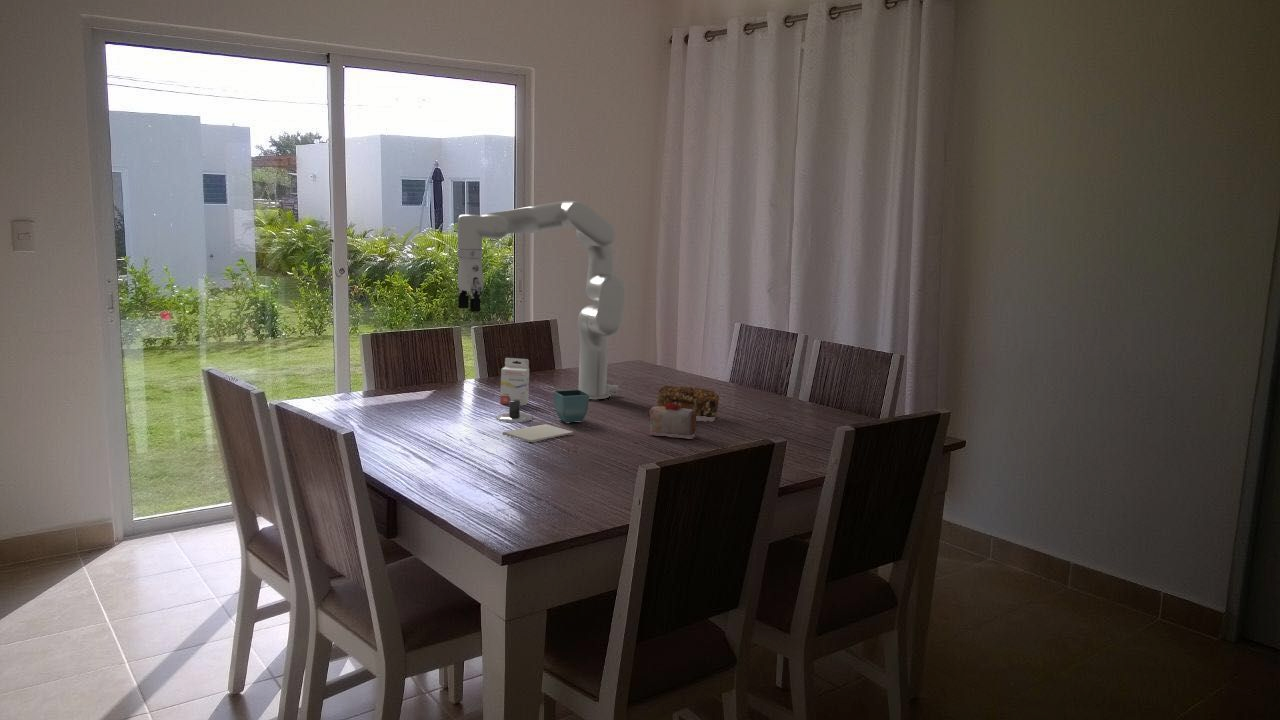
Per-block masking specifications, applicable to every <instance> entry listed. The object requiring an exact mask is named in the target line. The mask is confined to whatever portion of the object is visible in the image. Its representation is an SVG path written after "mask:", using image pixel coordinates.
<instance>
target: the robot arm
mask: <svg viewBox="0 0 1280 720" xmlns="http://www.w3.org/2000/svg"><path fill="white" fill-rule="evenodd" d="M564 228H565V229H566V228H575V229H576V231H575V233H576V238H577V239H578V241H579V242H580V243H581V244H582V245H583V246H584V247H585V249H586V251H587V254H588V268H587V274H586V275H587V277H586V283H585V284H586V285H585V294H586V296H587V297H588V298H589V299H590V300H592V301H594V302H597V304H590V305H589V304H588V305H586V306H585V307H583V308H582V309H581V310H580V312H579V314H578V317H577V325H578V326H577V327H578V332H579V333H578V335H579V354H578V355H579V357H578V358H579V361H578V363H579V365H578V389H577V390H581V391H583V392H585V393H587V394H589V395H590V396H589V399H593V398H594V399H597V398H606V397H609V396H610V397H611V393H610V392H612V391H613V392H614V391H619V390H620V389H619V385H618V384H613V385H612V384H609V383H608V382H607V378H608V372H607V371H608V350H609V349H608V348H609V347H608V346H609V345H608V344H609V343H608V338H609V337H613V336H615V335H617V334H618V332H619V330H620V329H621V326H622V322H623V315H624V308H625V301H626V288H625V285H624V283H623V281H622V280H621V278H620V277H617V276H616V275H614V270H615V269H614V267H615V266H614V265H615V254H614V250H613V247H612V245H611V244H613V243H614V240H615V239H616V238H615V237H616V231H615V228H614V226H613V225H612V224H611V223H610V221H608V220H607V219H605V218H604V217H602V216H601V215H600V214H599V213H597V211H595V210H593V208H591V207H590V206H588V205H587V204H585V203H583V202H581V201H579V200H576V201H575V200H562V201H555V202H550V203H549V202H548V203H544V204H538V205H530V206H526V207H525V206H524V207H520V208H514V209H508V210H501V211H494V212H489V213H484V214H483V213H482V214H481V215H478V214H460V215H459V216H458V218H457V260H458V269H457V289H458V290H457V291H458V292H457V295H458V297H457V298H458V309H469V311H470V312H471V313H472V312H473V313H474V312H475V313H476V312H477V313H478V312H481V298H482V292H483V291H484V274H483V273H484V272H483V263H482V260H483V238H484V239H490V240H499V239H500V240H501V239H503V238H505V237H506V236H507V235H508V234H536V233H537V234H538V233H542V232H547V231H548V232H549V231H553V230H557V229H558V230H559V229H564ZM469 294H470V296H469Z"/></svg>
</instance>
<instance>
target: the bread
mask: <svg viewBox="0 0 1280 720" xmlns="http://www.w3.org/2000/svg"><path fill="white" fill-rule="evenodd" d="M719 400H720V395H719V394H718V393H717V392H716V391H715V390H712V389H707V388H705V389H704V388H700V387H695V386H673V385H664V386H662V387H660V389H659V390H658V395H657V406H660V407H666V406H667V404H669V403H672V404H674V403H675V402H676V403H677V404H678V405H680V407H681V408H685V409H693V410H696V411H697V416H706V417H716V418H717V416H716V414H718V409H719Z"/></svg>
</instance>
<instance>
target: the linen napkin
mask: <svg viewBox="0 0 1280 720" xmlns="http://www.w3.org/2000/svg"><path fill="white" fill-rule="evenodd" d="M572 432H574V431H571V430H568V429H564V428H561V427H558V426H555V425H550V424H546V423H544V424H540V425H534V426H529V427H522V428H516V429H512V430H506V431H502V435H503V436H505V435H507V437H509V436H511V437H510V438H512V437H515V438H518V439H517V440H519V439H521V440H520V441H522V440H524V441H523V442H525V441H528V442H534V443H536V442H535V441H539V440H543V439H547V438H551V437H555V436H560V435H564V434H568V433H572ZM515 438H514V439H515ZM528 442H527V443H528ZM539 442H540V441H539Z"/></svg>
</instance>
